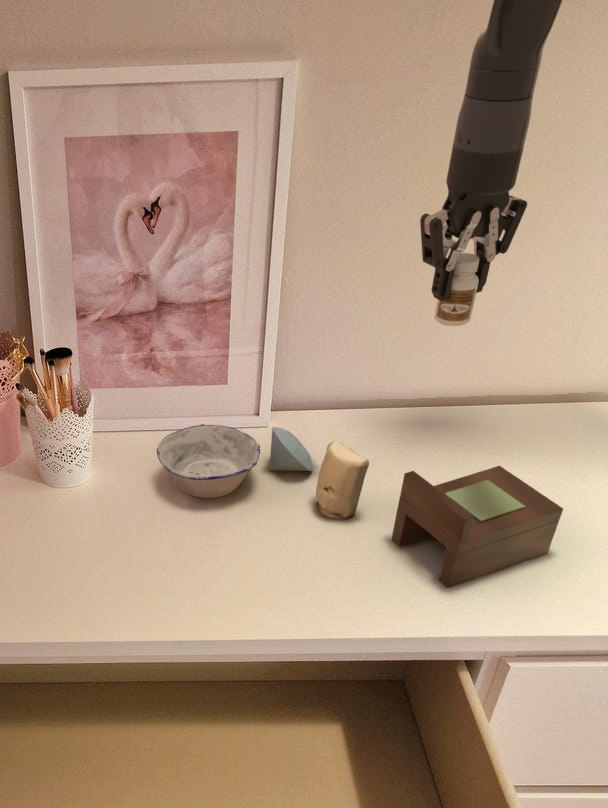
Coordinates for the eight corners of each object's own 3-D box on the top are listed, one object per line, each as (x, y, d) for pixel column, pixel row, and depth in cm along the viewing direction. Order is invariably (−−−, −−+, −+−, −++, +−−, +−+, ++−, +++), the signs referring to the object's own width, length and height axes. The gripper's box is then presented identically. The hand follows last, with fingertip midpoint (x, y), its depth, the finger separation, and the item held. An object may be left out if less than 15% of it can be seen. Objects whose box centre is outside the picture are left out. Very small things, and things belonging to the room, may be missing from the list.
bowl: (228, 446, 118) (230, 414, 115) (276, 493, 109) (279, 459, 106) (141, 469, 115) (140, 436, 112) (184, 519, 106) (184, 485, 103)
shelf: (487, 508, 105) (506, 442, 99) (547, 553, 98) (572, 484, 92) (391, 539, 101) (404, 473, 95) (447, 588, 94) (465, 519, 88)
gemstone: (254, 463, 109) (284, 435, 107) (245, 439, 115) (274, 412, 113) (294, 500, 112) (324, 474, 110) (283, 475, 118) (311, 450, 116)
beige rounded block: (365, 502, 107) (374, 444, 102) (357, 525, 104) (366, 467, 98) (318, 494, 109) (326, 437, 103) (309, 517, 105) (316, 459, 100)
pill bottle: (433, 326, 109) (446, 263, 104) (433, 312, 112) (445, 250, 107) (470, 328, 108) (484, 264, 103) (469, 314, 112) (483, 251, 106)
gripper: (458, 159, 92) (428, 317, 104) (564, 138, 96) (524, 293, 108) (414, 143, 97) (391, 296, 109) (516, 124, 101) (483, 274, 113)
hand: (457, 293), depth 108 cm, fingers closed on pill bottle, 4 cm apart
